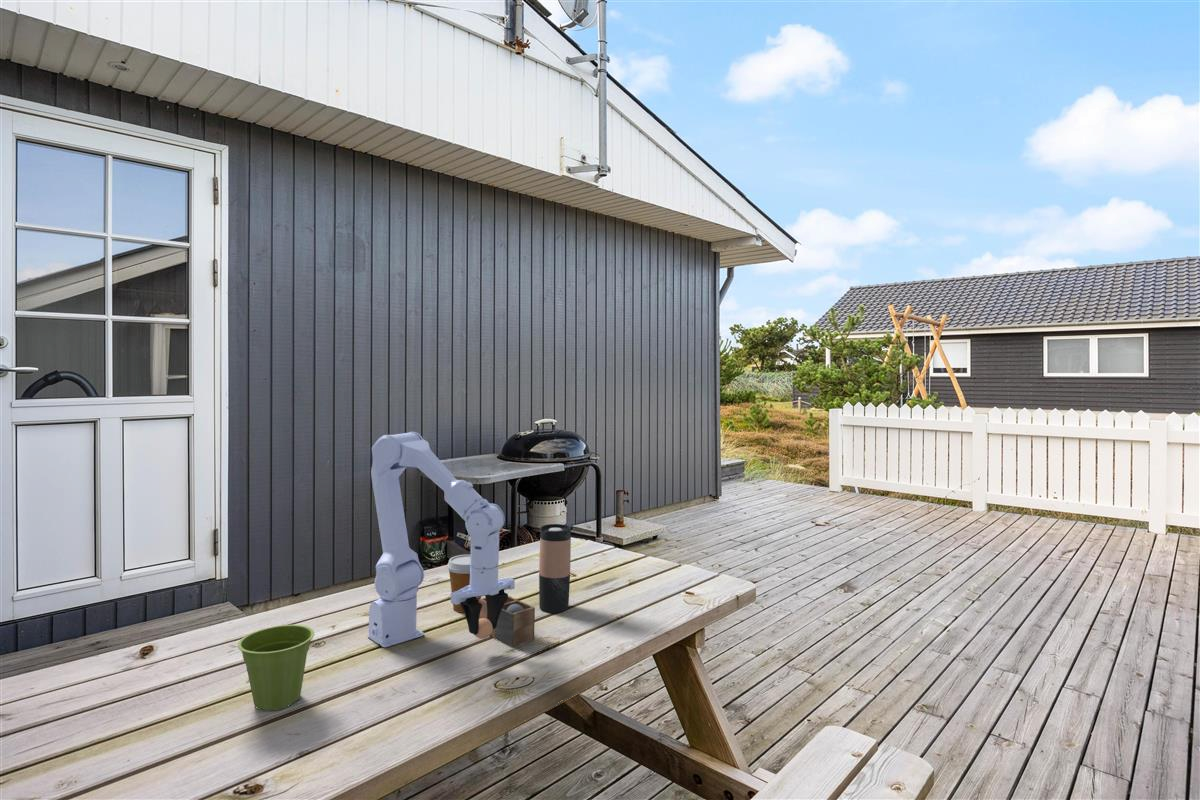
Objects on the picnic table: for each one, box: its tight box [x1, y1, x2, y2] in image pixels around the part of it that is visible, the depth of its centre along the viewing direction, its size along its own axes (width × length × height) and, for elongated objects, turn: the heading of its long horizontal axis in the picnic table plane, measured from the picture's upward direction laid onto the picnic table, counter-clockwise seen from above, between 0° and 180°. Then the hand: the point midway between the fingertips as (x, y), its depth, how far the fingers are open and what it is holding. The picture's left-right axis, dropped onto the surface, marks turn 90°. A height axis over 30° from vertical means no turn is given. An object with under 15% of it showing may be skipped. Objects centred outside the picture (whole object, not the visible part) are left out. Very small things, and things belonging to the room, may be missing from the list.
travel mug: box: [538, 523, 572, 614], centre depth 159 cm, size 8×8×20 cm
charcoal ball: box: [506, 604, 523, 613], centre depth 140 cm, size 4×4×4 cm
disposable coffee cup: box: [446, 554, 482, 613], centre depth 158 cm, size 10×10×12 cm
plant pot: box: [237, 624, 315, 711], centre depth 112 cm, size 12×12×11 cm
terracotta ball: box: [474, 618, 493, 640], centre depth 133 cm, size 4×4×4 cm
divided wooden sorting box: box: [479, 595, 536, 648], centre depth 143 cm, size 6×12×7 cm, turn 46°
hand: (482, 630), depth 133 cm, fingers closed on terracotta ball, 4 cm apart
